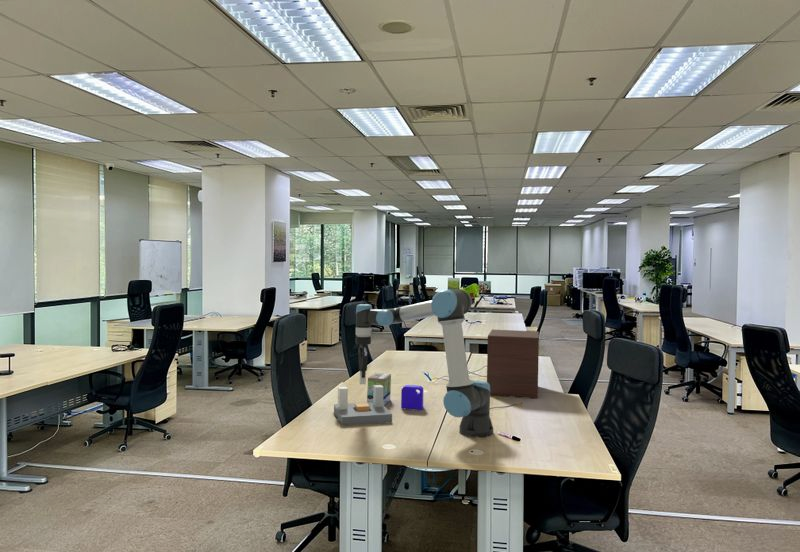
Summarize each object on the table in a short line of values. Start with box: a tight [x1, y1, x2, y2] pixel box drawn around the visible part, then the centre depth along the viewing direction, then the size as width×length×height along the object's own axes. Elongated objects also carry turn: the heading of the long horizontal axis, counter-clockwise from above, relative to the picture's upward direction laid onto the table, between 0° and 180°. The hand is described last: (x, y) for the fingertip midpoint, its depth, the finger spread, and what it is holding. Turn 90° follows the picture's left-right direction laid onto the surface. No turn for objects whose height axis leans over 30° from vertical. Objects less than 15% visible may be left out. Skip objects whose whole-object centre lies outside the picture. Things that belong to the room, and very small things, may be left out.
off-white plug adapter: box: [337, 385, 349, 410], centre depth 261 cm, size 5×4×10 cm
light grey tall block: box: [373, 385, 384, 408], centre depth 266 cm, size 5×4×10 cm
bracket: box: [400, 384, 424, 411], centre depth 284 cm, size 18×11×12 cm, turn 168°
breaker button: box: [355, 402, 370, 412], centre depth 259 cm, size 6×6×5 cm
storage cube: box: [486, 329, 540, 399], centre depth 324 cm, size 35×29×35 cm
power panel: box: [333, 402, 393, 427], centre depth 259 cm, size 24×24×4 cm
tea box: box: [366, 372, 392, 406], centre depth 289 cm, size 15×10×15 cm
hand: (362, 384), depth 259 cm, fingers closed
